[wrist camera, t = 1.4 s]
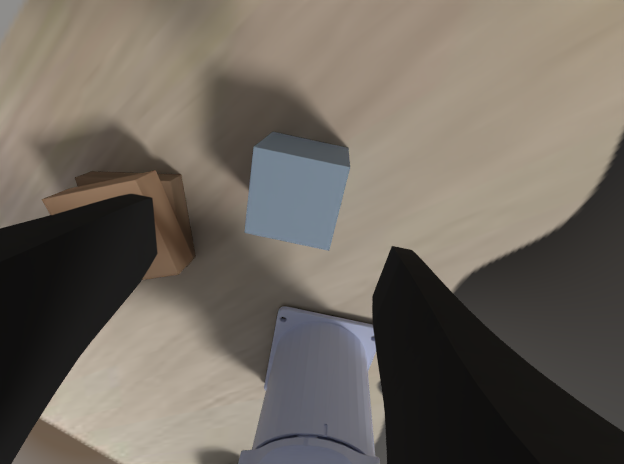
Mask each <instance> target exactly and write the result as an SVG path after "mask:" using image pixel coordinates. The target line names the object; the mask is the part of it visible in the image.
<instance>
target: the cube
mask: <svg viewBox="0 0 624 464" xmlns="http://www.w3.org/2000/svg"><path fill="white" fill-rule="evenodd" d="M349 170H350V161H349V149H348V148H347V147H342V146H338V145H333V144H328V143H324V142H319V141H314V140H310V139H305V138H300V137H296V136H291V135H286V134H282V133H277V132H272V133H270V134H269V135H268V136H267V137H265V138H264V139H263V140H262V141H260V142H259V143H258V144H257V145H255V146H254V149H253V158H252V168H251V177H250V186H249V196H248V205H247V214H246V224H245V233H248V234H253V235H257V236H262V237H267V238H272V239H276V240H281V241H286V242H291V243H295V244H300V245H305V246H310V247H314V248H319V249H324V250H328V251H329V249H330V245H331V241H332V237H333V233H334V229H335V225H336V221H337V217H338V213H339V209H340V205H341V201H342V197H343V194H344V190H345V186H346V182H347V178H348V174H349Z"/></svg>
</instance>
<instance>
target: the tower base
mask: <svg viewBox="0 0 624 464" xmlns="http://www.w3.org/2000/svg"><path fill="white" fill-rule="evenodd" d="M136 174H140V173H124V172H95V171H91V172H89V173H86V174H83V175H81V176H78V177H75V180H76V183H77V186H78V187H79V186H84V185H89V184H93V183H98V182H103V181H107V180H112V179H117V178H122V177H126V176H131V175H136ZM158 177H159V179H160V181H161V184H162V186H163V189H164V191H165V193H166V196H167V198H168V200H169V203H170V205H171V207H172V210H173V212H174V214H175V217H176V219H177V221H178V224H179V226H180V228H181V231H182V233H183V235H184V238H185V240H186V242H187V245H188V247H189V249H190V252H191V254H192V256H193V259H194V258H195V256H196V255H195V250H194V244H193V238H192V233H191V227H190V222H189V216H188V210H187V205H186V199H185V193H184V188H183V182H182V176H181V175H180V174H158ZM193 259H192V260H193ZM192 260H191V261H192ZM191 261H190V262H191ZM190 262H189V263H188V264H187V266H188V265H189V264H190ZM187 266H186V267H187Z"/></svg>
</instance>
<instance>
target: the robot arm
mask: <svg viewBox="0 0 624 464" xmlns="http://www.w3.org/2000/svg"><path fill="white" fill-rule="evenodd" d="M157 254H158V253H157V241H156V230H155V219H154V208H153V198H152V197H147V196H142V195H137V194H126V195H121V196H117V197H113V198H109V199H105V200H102V201H98V202H95V203H91V204H88V205H85V206H81V207H78V208H74V209H71V210H67V211H64V212H61V213H57V214H54V215H50V216H46V217H43V218H39V219H35V220H31V221H27V222H24V223H20V224H16V225H12V226H8V227H5V228H1V229H0V464H11V463H12V462H13V460H14V458H15V457H16V455H17V453H18V452H19V450H20V448H21V446H22V445H23V443H24V442H25V440H26V438H27V437H28V435H29V433H30V431H31V430H32V428H33V427H34V425H35V424H36V422H37V421H38V419H39V417H40V416H41V414H42V413H43V411H44V409H45V408H46V406H47V405H48V403H49V402H50V400H51V398H52V397H53V395H54V394H55V392H56V391H57V389H58V388H59V386H60V385H61V383H62V382H63V380H64V379H65V377H66V376H67V374H68V373H69V371H70V370H71V368H72V367H73V366H74V364H75V363H76V361H77V360H78V358H79V357H80V356H81V354H82V353H83V352H84V350H85V349H86V348H87V346H88V345H89V344H90V342H91V341H92V340H93V339H94V338H95V336H96V335H97V334H98V333H99V332H100V330H101V329H102V328H103V327H104V326H105V324H106V323H107V322H108V321H109V320H110V318H111V317H112V316H113V315H114V314H115V312H116V311H117V310H118V309H119V308H120V306H121V305H122V304H123V303H124V302H125V300H126V299H127V298H128V297H129V295H130V294H131V293H132V292H133V290H134V289H135V288H136V287H137V286H138V284H139V283H140V282H141V280H142V279H143V277H144V276H145V274H146V273H147V271H148V269H149V268H150V266H151V264H152V263H153V261H154V259H155V257H156V256H157ZM372 313H373V325H372V324H368V323H363V322H358V321H353V320H349V319H344V318H339V317H334V316H329V315H325V314H320V313H315V312H310V311H306V310H301V309H296V308H291V307H287V306H283V307H280V308H279V311H278V315H277V320H276V326H275V331H274V337H273V342H272V347H271V353H270V358H269V363H268V369H267V374H266V380H265V385H264V389H265V390H266V393H265V397H264V401H263V405H262V409H261V414H260V418H259V422H258V426H257V430H256V434H255V438H254V442H253V447H252V450H243V451H241V454H240V458H239V462H238V464H380V459H379V458H378V457H375V450H374V438H373V426H372V415H371V403H370V392H369V380H368V370H369V367H370V365H371V362H372V360H373V357H374V355H375V352H377V359H378V366H379V373H380V379H381V386H382V393H383V401H384V410H385V425H386V445H387V464H624V432H623V431H622V430H620V429H618V428H617V427H616V426H614V425H612V424H611V423H610V422H608V421H607V420H605V419H604V418H602V417H601V416H599V415H598V414H596V413H595V412H594V411H592V410H591V409H589V408H588V407H586V406H585V405H584V404H582V403H581V402H579V401H578V400H576V399H575V398H574V397H573V396H571V395H570V394H568V393H567V392H566V391H564V390H563V389H561V388H560V387H559V386H557V385H556V384H555V383H554V382H552V381H551V380H550V379H548V378H547V377H546V376H544V375H543V374H542V373H540V372H539V371H538V370H537V369H535V368H534V367H533V366H531V365H530V364H529V363H528V362H526V361H525V360H524V359H523V358H522V357H521V356H519V355H518V354H517V353H516V352H515V351H513V350H512V349H511V348H510V347H509V346H507V345H506V344H505V343H504V342H503V341H502V340H500V339H499V338H498V337H497V336H496V335H495V334H494V333H493V332H492V331H490V330H489V329H488V328H487V327H486V326H485V325H484V324H483V323H482V322H481V321H480V320H479V319H478V318H477V317H476V316H475V315H474V314H472V313H471V311H469V310H468V309H467V308H466V307H465V306H464V305H463V303H462V302H461V301H459V300H458V298H457V297H456V296H455V295H454V294H453V293H452V292H451V291H450V290H449V289H448V288H447V287H446V286H445V285H444V283H443V282H442V281H441V280H440V279H439V278H438V277H437V276H436V275H435V274H434V273H433V271H432V270H431V269H430V268H429V267H428V266H427V265H426V264H425V263H424V262H423V261H422V259H421V258H420V257H419V256H418V255H417V254H416V253H415V252H413V251H412V250H409V249H404V248H399V247H394V246H392V247H391V250H390V253H389V255H388V258H387V260H386V263H385V265H384V268H383V271H382V273H381V276H380V278H379V281H378V283H377V286H376V288H375V291H374V294H373V305H372ZM282 317H285V318H286V319H283V318H282ZM372 336H374V337H372Z"/></svg>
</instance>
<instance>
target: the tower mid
mask: <svg viewBox="0 0 624 464" xmlns="http://www.w3.org/2000/svg"><path fill="white" fill-rule="evenodd" d="M126 194H137V195H142V196H147V197H152V198H153V208H154V219H155V230H156V241H157V253H158V254H157V256H156V257H155V259H154V261H153V263H152V264H151V266H150V268H149V269H148V271H147V273H146V274H145V276H144V277H143V279H142V280H145V279H152V278H158V277H165V276H172V275H179V274H180V273H181V272H182V270H183V269H184V268H185V267H186V266H187V264H188V263H189V262H190V261H191V260H192V259H193V256H192V254H191V252H190V249H189V247H188V245H187V242H186V240H185V238H184V235H183V233H182V231H181V228H180V226H179V224H178V221H177V219H176V217H175V214H174V212H173V210H172V207H171V205H170V203H169V200H168V198H167V196H166V193H165V191H164V189H163V186H162V184H161V181H160V179H159V177H158V174H157V172H156V170H154V171H150V172H145V173H140V174H136V175H131V176H126V177H122V178H117V179H112V180H107V181H103V182H98V183H93V184H89V185H84V186H79V187H75V188H70V189H67V190H64V191H62V192H59V193H57V194H54V195H52V196H49V197H47V198H44V199H42V201H43V203H44V204H45V206H46V208H47V209H48V211H49V213H50V214H51V215H54V214H57V213H61V212H64V211H67V210H71V209H74V208H78V207H81V206H85V205H88V204H91V203H95V202H98V201H102V200H105V199H109V198H113V197H117V196H121V195H126Z"/></svg>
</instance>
